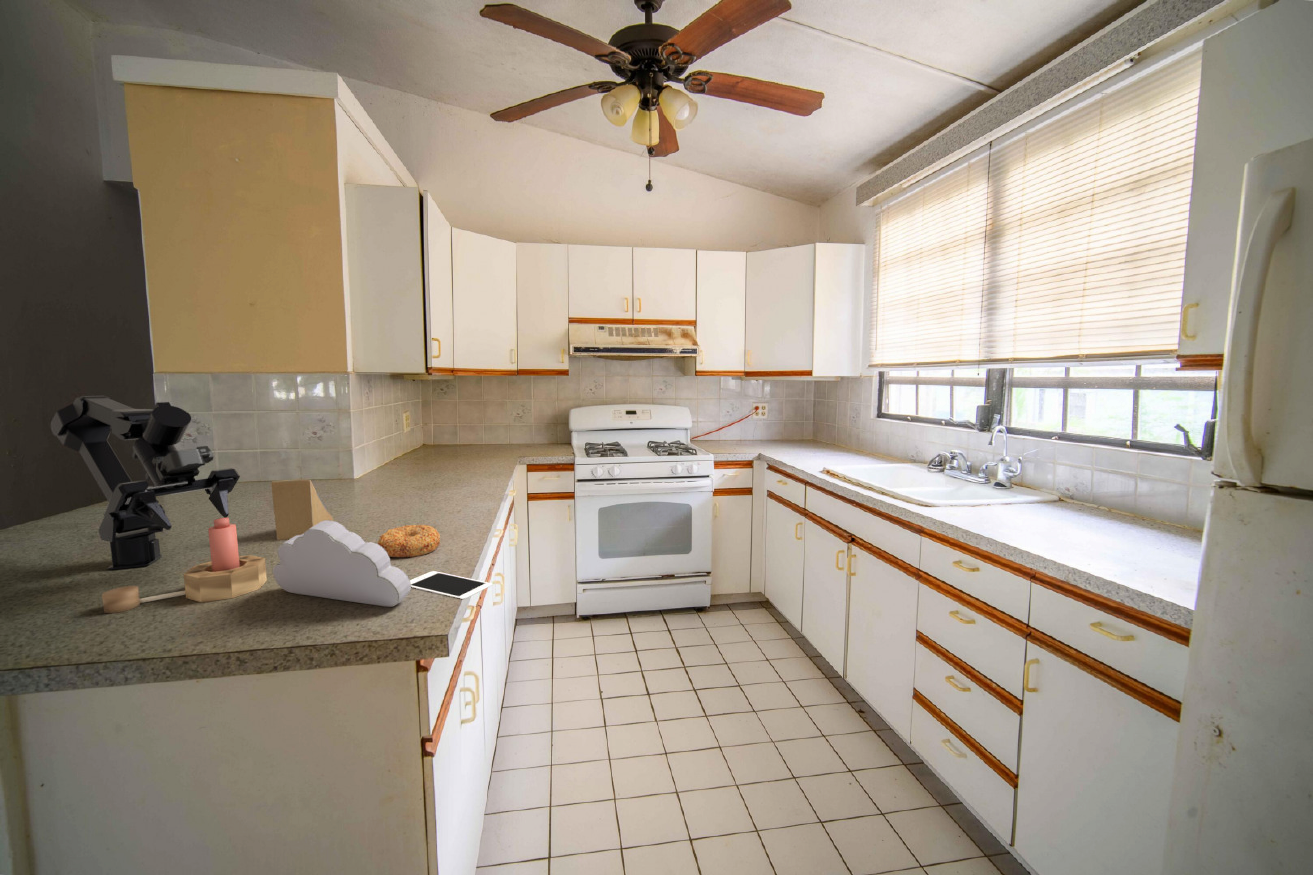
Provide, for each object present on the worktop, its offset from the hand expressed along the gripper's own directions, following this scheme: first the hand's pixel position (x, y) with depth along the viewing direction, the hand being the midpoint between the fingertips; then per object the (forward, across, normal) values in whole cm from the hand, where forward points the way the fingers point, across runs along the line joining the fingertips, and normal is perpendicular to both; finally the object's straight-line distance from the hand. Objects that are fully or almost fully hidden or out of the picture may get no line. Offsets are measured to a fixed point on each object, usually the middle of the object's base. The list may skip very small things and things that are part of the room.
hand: (199, 522), depth 101 cm
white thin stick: (+10, -7, +7) cm, 14 cm away
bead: (+14, 0, +3) cm, 14 cm away
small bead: (+9, -12, +8) cm, 17 cm away
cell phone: (+40, +18, -23) cm, 49 cm away
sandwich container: (-3, +31, +21) cm, 38 cm away
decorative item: (+30, +6, -14) cm, 34 cm away
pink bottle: (+14, 0, +3) cm, 14 cm away
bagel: (+23, +30, -6) cm, 39 cm away
